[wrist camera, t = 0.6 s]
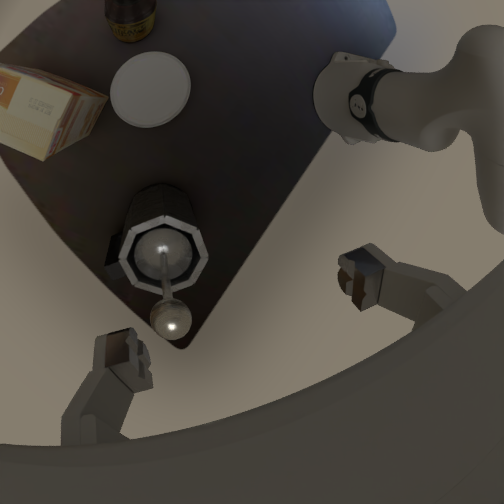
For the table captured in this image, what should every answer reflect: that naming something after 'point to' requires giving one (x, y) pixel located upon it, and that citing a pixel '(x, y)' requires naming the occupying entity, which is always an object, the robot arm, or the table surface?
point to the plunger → (165, 277)
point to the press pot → (150, 216)
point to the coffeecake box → (44, 110)
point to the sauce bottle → (130, 18)
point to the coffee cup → (150, 89)
